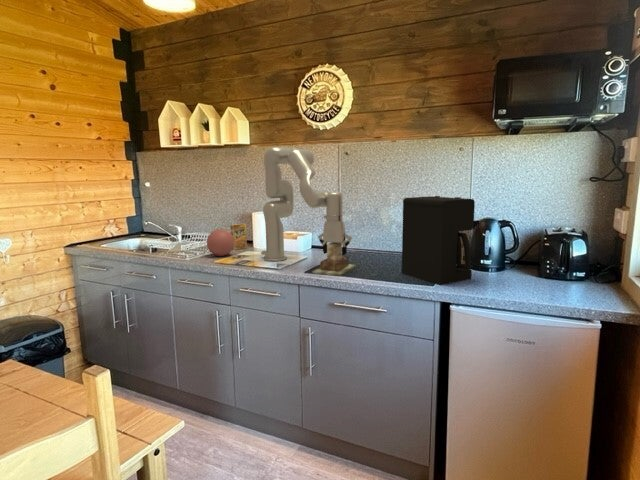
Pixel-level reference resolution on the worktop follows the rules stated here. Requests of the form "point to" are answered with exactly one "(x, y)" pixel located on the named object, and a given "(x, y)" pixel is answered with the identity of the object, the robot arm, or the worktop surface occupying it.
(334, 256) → the tan mottled block
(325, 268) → the brown open box
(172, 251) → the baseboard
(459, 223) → the coffee maker
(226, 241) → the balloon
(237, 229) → the candy box
